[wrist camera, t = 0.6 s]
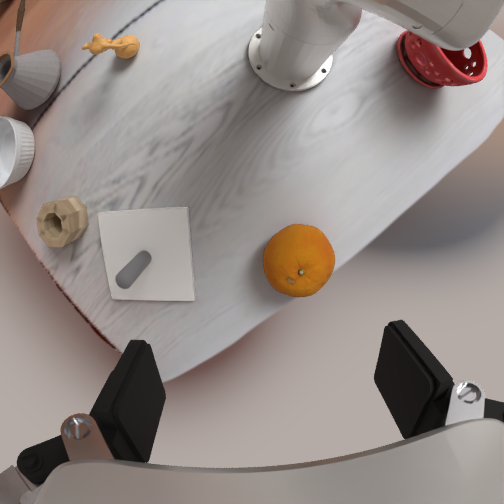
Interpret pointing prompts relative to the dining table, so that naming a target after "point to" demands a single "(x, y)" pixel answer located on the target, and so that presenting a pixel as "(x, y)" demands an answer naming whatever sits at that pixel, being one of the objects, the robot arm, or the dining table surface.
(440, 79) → the plant pot
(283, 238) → the fruit
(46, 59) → the coffee pot
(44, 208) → the bead
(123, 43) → the figurine
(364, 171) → the dining table surface
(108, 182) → the dining table surface
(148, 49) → the dining table surface
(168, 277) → the post board
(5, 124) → the ramekin
